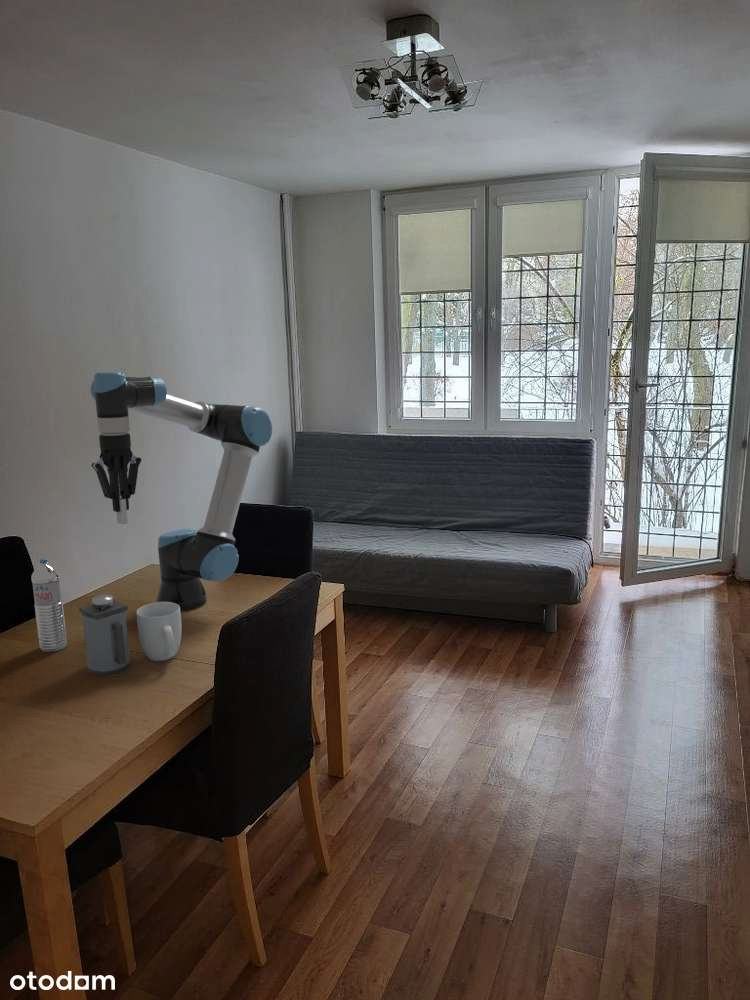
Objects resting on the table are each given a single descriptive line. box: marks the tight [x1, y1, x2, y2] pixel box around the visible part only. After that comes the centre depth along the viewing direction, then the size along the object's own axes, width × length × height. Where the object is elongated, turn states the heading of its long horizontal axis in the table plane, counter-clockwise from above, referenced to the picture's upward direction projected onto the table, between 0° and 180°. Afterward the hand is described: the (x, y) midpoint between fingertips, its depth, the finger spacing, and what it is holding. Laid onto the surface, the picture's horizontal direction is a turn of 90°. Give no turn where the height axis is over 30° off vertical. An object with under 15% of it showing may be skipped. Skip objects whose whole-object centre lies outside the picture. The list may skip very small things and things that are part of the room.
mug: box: [135, 601, 183, 662], centre depth 190 cm, size 15×11×13 cm
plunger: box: [91, 594, 114, 609], centre depth 185 cm, size 6×6×16 cm
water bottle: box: [31, 557, 68, 653], centre depth 196 cm, size 7×7×25 cm
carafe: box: [78, 598, 131, 676], centre depth 185 cm, size 10×12×16 cm
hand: (122, 522), depth 192 cm, fingers closed
